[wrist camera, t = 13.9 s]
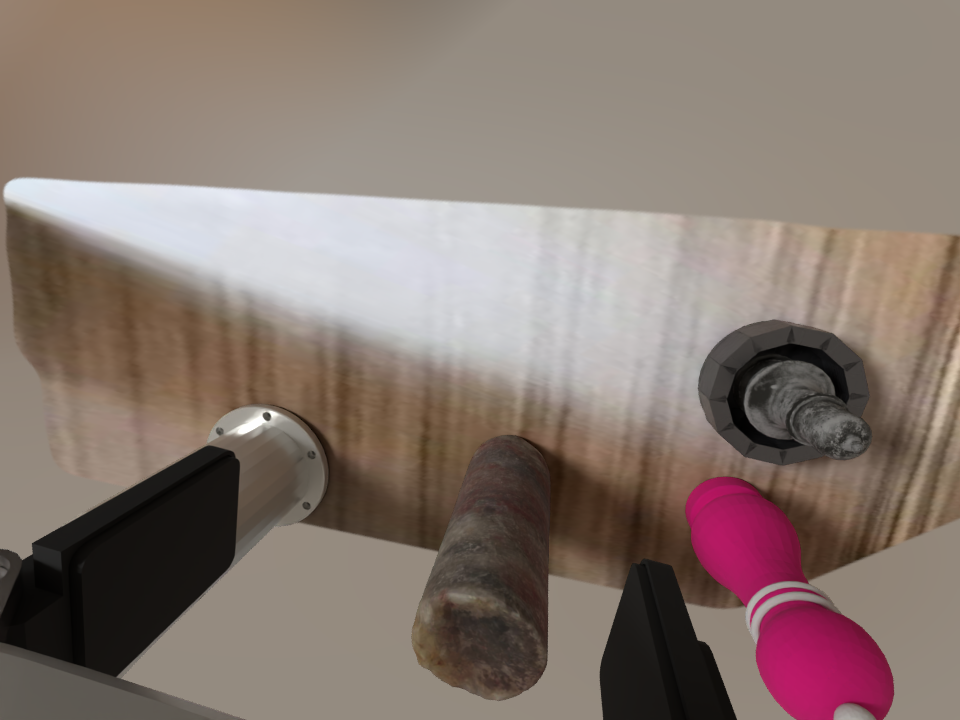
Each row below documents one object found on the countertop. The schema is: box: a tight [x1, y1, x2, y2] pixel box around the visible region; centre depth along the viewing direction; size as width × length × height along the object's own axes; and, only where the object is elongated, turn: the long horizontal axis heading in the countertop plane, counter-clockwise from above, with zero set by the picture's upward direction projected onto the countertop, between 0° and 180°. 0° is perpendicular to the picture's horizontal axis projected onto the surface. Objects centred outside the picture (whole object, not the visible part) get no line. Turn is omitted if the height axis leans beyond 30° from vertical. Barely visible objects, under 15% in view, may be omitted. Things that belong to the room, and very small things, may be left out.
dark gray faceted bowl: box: [698, 320, 870, 465], centre depth 36 cm, size 10×10×4 cm
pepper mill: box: [685, 477, 894, 720], centre depth 31 cm, size 7×7×20 cm
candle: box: [411, 435, 550, 701], centre depth 33 cm, size 8×7×20 cm
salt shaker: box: [732, 354, 872, 460], centre depth 31 cm, size 6×6×12 cm
